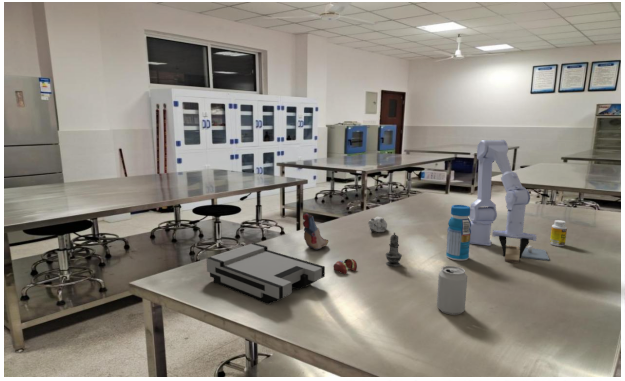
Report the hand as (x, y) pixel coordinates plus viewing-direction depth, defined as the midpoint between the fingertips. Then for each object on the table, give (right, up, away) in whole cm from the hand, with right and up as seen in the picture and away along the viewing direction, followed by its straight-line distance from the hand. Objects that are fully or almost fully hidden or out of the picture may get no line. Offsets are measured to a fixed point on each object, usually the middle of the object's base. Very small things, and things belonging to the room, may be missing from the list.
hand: (511, 256), depth 151 cm
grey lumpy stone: (-45, +5, +38) cm, 59 cm away
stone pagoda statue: (-45, -2, -4) cm, 46 cm away
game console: (-90, -6, -22) cm, 93 cm away
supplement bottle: (+29, +2, +19) cm, 35 cm away
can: (-36, -9, -39) cm, 54 cm away
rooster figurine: (-73, +1, +14) cm, 75 cm away
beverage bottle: (-19, -1, +3) cm, 20 cm away
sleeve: (0, -1, 0) cm, 1 cm away
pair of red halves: (-63, -3, -10) cm, 64 cm away
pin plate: (+11, 0, +8) cm, 13 cm away
